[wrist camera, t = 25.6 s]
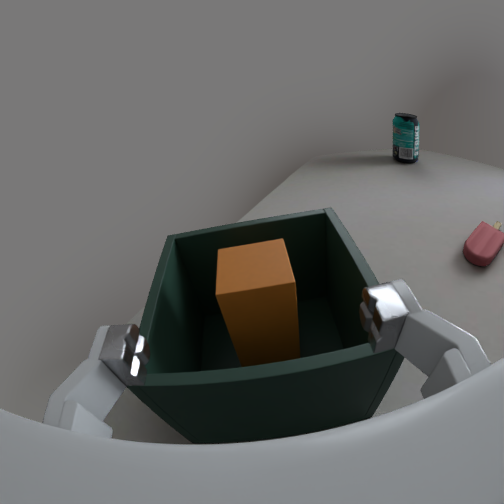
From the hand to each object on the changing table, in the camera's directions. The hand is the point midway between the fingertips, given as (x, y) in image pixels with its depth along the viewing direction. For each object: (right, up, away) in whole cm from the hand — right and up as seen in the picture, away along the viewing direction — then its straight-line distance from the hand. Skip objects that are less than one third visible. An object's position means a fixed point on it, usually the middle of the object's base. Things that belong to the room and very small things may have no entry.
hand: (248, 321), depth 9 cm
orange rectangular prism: (+2, -7, +14) cm, 16 cm away
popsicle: (+36, +4, +21) cm, 42 cm away
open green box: (+2, -8, +15) cm, 17 cm away
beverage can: (+39, +26, +51) cm, 70 cm away
